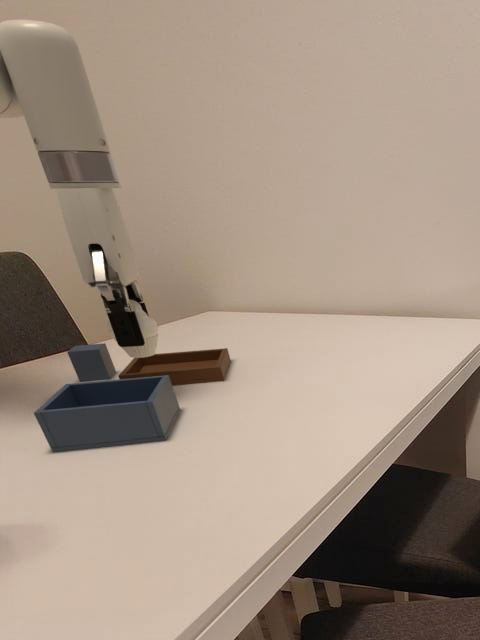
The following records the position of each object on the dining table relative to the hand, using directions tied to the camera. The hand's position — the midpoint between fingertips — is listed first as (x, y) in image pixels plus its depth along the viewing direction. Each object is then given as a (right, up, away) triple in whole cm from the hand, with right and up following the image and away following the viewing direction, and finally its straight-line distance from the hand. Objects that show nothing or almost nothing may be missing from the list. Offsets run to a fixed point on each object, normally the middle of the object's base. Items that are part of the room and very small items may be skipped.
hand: (137, 339), depth 80 cm
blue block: (-15, +1, +15) cm, 21 cm away
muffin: (0, -2, +1) cm, 2 cm away
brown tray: (-2, +2, +15) cm, 15 cm away
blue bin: (+2, -15, -6) cm, 16 cm away
